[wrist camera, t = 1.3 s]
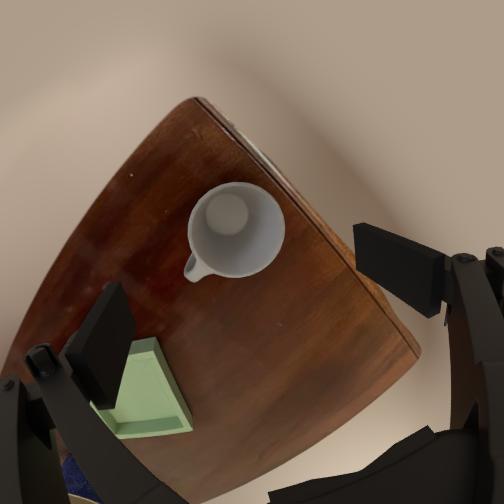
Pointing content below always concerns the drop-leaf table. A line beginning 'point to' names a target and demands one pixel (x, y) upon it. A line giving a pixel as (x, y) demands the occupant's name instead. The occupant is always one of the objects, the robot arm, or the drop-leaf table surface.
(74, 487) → the planter
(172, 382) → the tray
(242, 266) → the cup
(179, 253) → the drop-leaf table surface
